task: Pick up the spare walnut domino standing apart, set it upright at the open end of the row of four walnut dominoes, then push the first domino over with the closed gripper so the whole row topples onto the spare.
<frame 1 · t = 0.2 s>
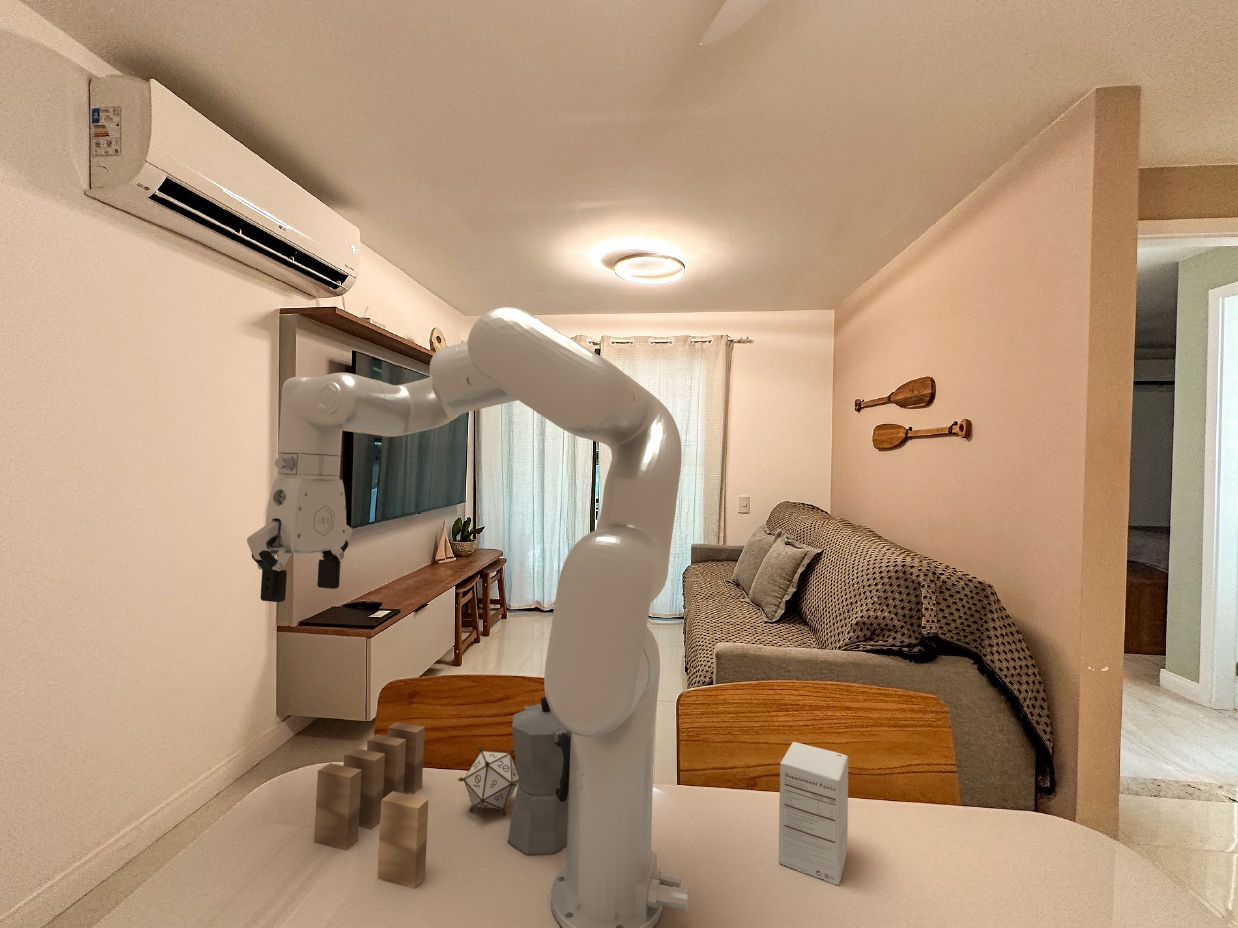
hand: (302, 593, 75), 31 cm above the table, fingers open, 9 cm apart
coffeepot: (544, 839, 73), on the table
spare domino: (401, 877, 65), on the table
domino 2: (383, 803, 80), on the table
game die: (491, 809, 79), on the table
domino 4: (336, 841, 71), on the table
domino 1: (403, 787, 84), on the table
supplement box: (813, 860, 70), on the table
domino 3: (361, 821, 75), on the table
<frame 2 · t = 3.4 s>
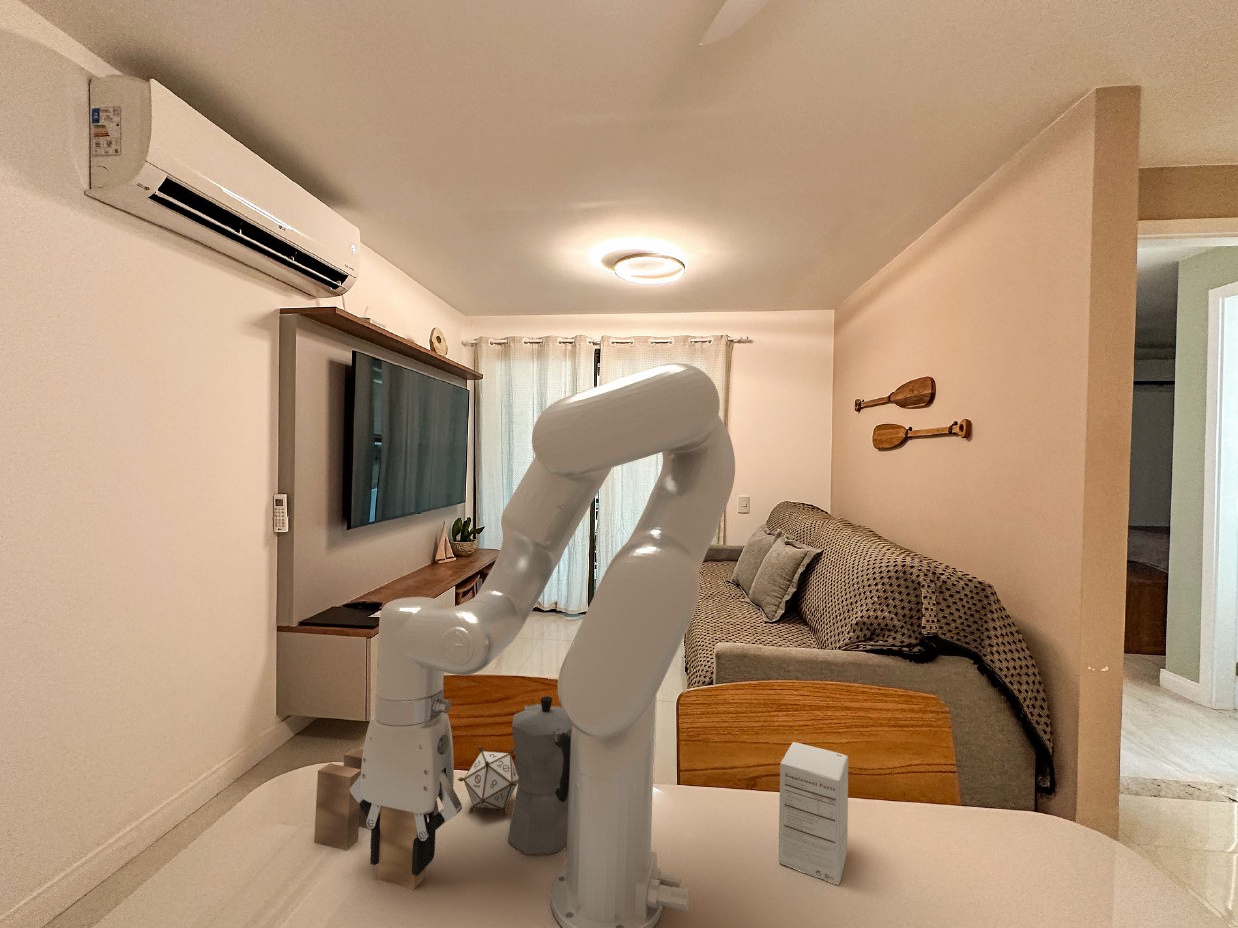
hand: (401, 860, 65), 2 cm above the table, fingers closed on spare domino, 4 cm apart
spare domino: (401, 877, 65), on the table, touching gripper
everything else where it was.
when the fingers open (3 cm above the table, at t = 8.6 s): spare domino drops 1 cm, on the table.
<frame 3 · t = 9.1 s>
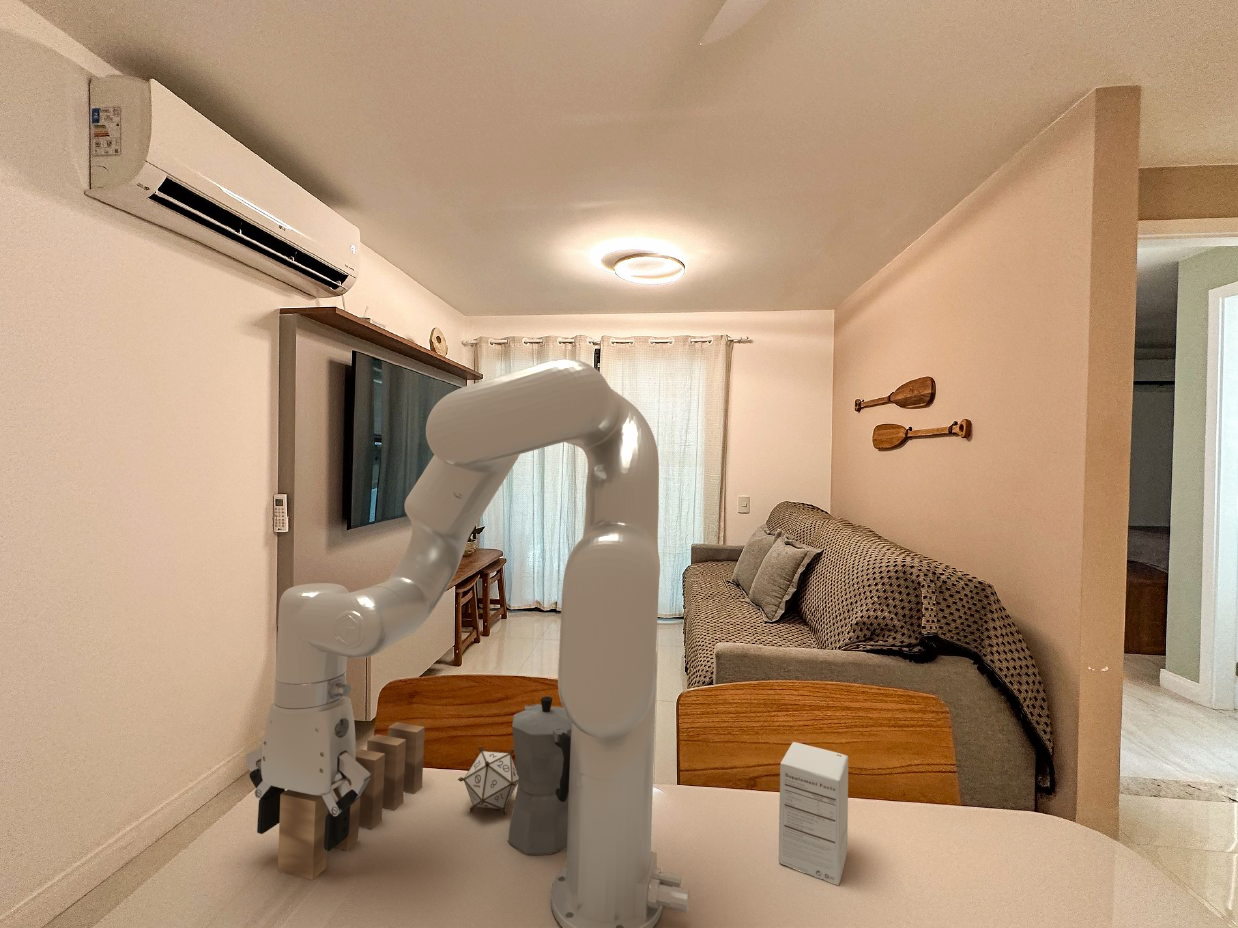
hand: (302, 834, 66), 4 cm above the table, fingers open, 9 cm apart
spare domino: (301, 869, 66), on the table
everything else where it was.
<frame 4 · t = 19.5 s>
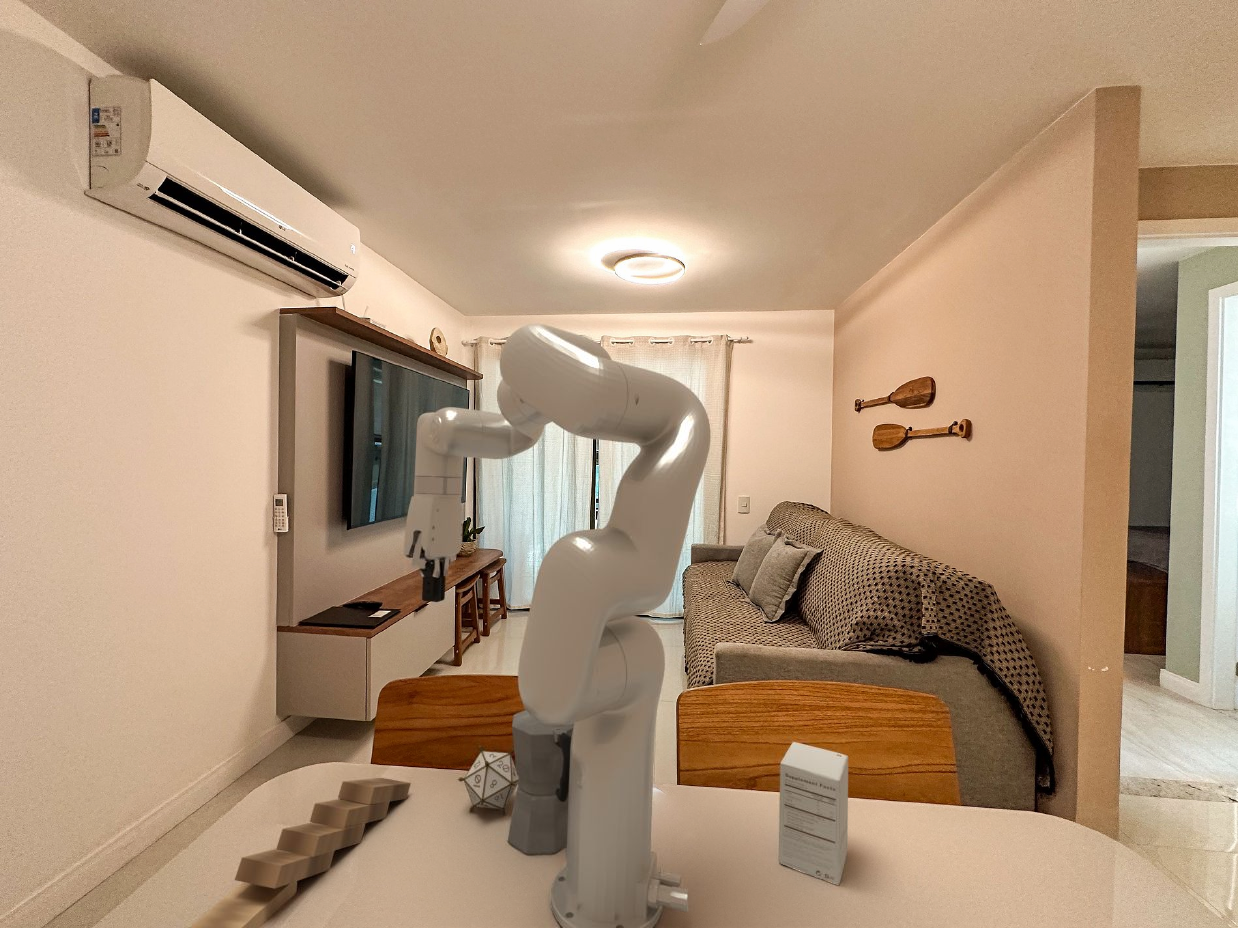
hand: (433, 600, 90), 27 cm above the table, fingers closed
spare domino: (277, 882, 63), point 1 cm above the table, tilted 90°
domino 2: (371, 806, 77), point 1 cm above the table, tilted 68°, touching domino 1
domino 4: (313, 855, 67), point 1 cm above the table, tilted 67°
domino 1: (394, 787, 82), point 1 cm above the table, tilted 67°, touching domino 2
domino 3: (345, 829, 72), point 1 cm above the table, tilted 67°
everything else where it was.
at the end: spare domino tilted 90°; domino 1 tilted 67°; domino 3 tilted 67° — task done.
